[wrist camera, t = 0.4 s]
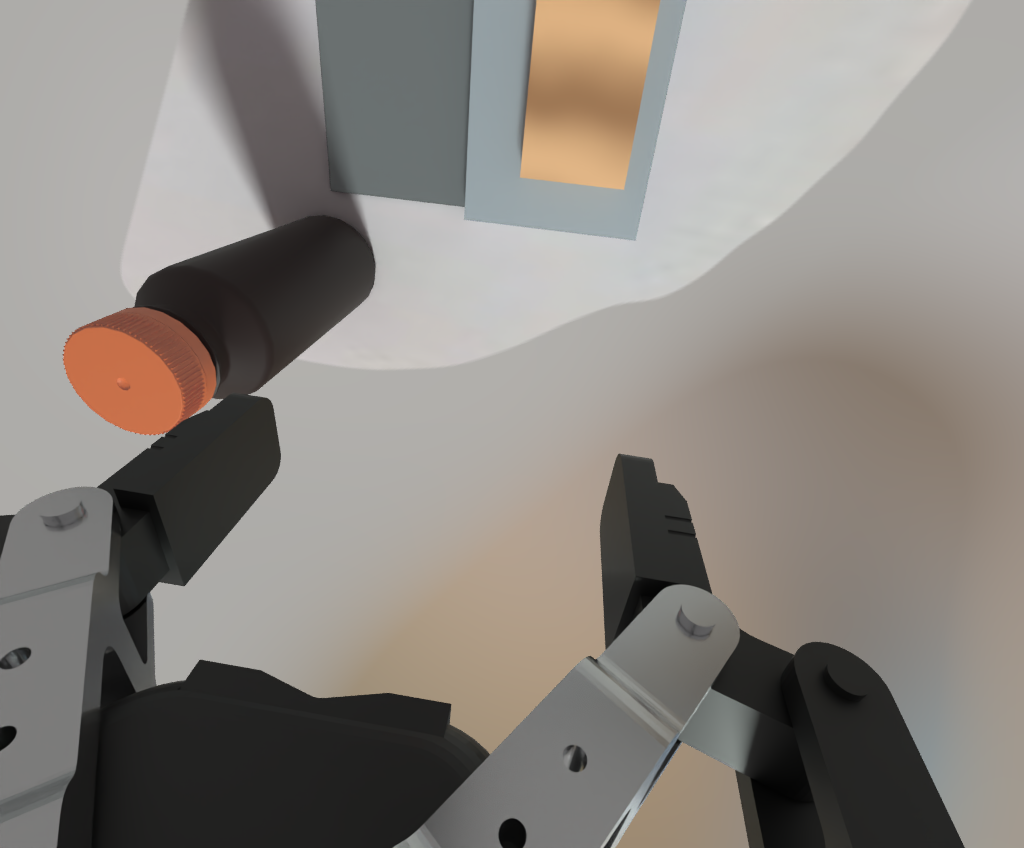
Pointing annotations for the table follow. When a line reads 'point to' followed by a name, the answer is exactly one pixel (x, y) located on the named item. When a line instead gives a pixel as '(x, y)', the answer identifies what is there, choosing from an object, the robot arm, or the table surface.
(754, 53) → the table surface
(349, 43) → the mat
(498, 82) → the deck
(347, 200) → the table surface
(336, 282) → the bottle
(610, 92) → the tile
